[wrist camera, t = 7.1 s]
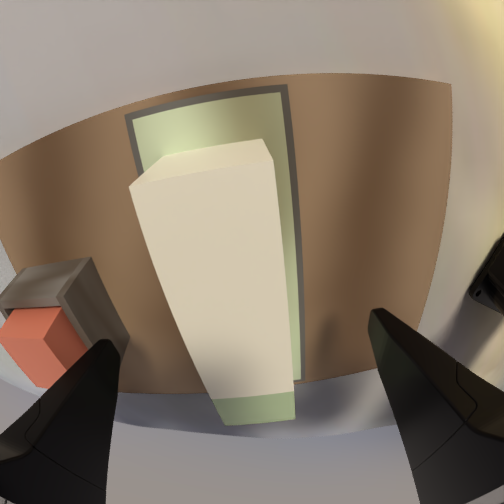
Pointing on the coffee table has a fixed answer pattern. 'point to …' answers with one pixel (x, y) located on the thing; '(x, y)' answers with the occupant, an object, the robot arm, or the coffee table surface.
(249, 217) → the block
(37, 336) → the button
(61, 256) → the brown control panel
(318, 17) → the coffee table surface
